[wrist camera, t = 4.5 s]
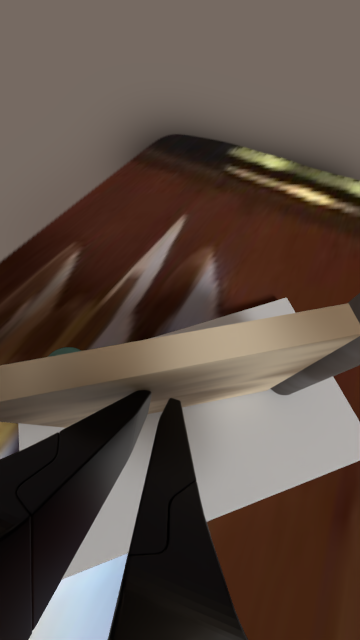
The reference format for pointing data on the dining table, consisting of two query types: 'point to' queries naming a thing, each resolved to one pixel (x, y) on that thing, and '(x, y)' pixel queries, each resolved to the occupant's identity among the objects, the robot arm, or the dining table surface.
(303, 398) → the board
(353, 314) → the door
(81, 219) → the dining table surface
